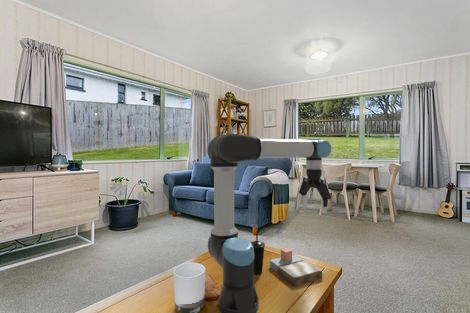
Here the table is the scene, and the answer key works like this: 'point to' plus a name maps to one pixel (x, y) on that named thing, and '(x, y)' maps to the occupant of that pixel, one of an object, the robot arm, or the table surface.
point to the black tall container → (258, 255)
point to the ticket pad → (299, 273)
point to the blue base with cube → (284, 259)
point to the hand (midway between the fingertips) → (313, 210)
